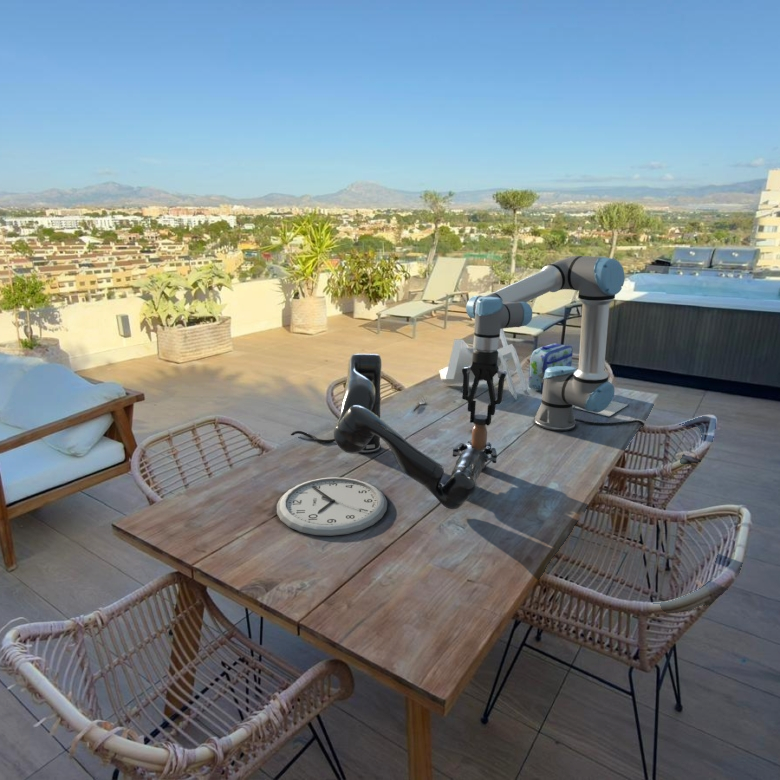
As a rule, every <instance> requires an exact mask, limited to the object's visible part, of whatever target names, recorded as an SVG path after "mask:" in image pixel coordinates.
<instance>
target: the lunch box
mask: <svg viewBox="0 0 780 780" xmlns="http://www.w3.org/2000/svg"><path fill="white" fill-rule="evenodd" d="M573 356H574V355H573V347H572V346H571V345H566V344H560V343H551V344H548V345H544V346H541V347H538V348H536V349H534V350H533V351H532V353H531V355H530V359H529V370H528V371H529V372H528V389H531V390H536V391H541V392H542V391H543V380H544V379H543V378H544V375H545V370H546V369H547V368H549V367H555V366H570V367H572V365H573V363H572V362H573Z"/></svg>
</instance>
